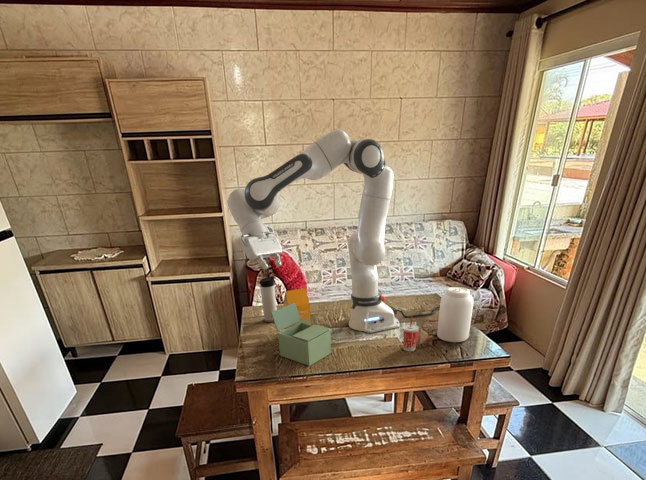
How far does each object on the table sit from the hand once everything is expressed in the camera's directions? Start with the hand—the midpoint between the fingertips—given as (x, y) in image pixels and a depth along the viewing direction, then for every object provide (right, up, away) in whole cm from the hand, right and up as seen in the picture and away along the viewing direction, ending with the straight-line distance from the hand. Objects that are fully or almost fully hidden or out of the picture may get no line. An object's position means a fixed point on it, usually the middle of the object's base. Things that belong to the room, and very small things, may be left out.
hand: (273, 267), depth 153 cm
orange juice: (+8, -24, +21) cm, 33 cm away
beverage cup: (+52, -30, +6) cm, 61 cm away
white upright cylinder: (+72, -25, +14) cm, 77 cm away
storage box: (+12, -32, +5) cm, 35 cm away
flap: (+5, -18, +3) cm, 19 cm away
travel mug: (-6, -15, +38) cm, 41 cm away
